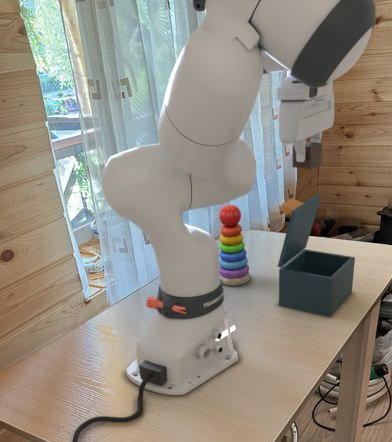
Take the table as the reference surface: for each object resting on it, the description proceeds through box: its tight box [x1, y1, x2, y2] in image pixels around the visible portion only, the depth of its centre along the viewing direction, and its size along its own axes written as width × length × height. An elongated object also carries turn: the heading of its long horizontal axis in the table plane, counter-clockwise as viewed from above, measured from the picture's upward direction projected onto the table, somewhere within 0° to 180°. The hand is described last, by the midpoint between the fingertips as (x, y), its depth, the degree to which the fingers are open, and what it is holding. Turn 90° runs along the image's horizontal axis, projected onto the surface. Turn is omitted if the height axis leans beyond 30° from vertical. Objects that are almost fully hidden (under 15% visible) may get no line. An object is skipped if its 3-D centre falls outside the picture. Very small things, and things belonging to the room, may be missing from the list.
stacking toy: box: [218, 204, 251, 286], centre depth 123 cm, size 8×8×19 cm
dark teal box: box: [278, 248, 356, 318], centre depth 114 cm, size 12×13×9 cm
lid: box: [277, 193, 322, 269], centre depth 111 cm, size 13×13×5 cm
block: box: [292, 141, 323, 170], centre depth 108 cm, size 4×4×4 cm
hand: (307, 158), depth 109 cm, fingers closed on block, 5 cm apart
